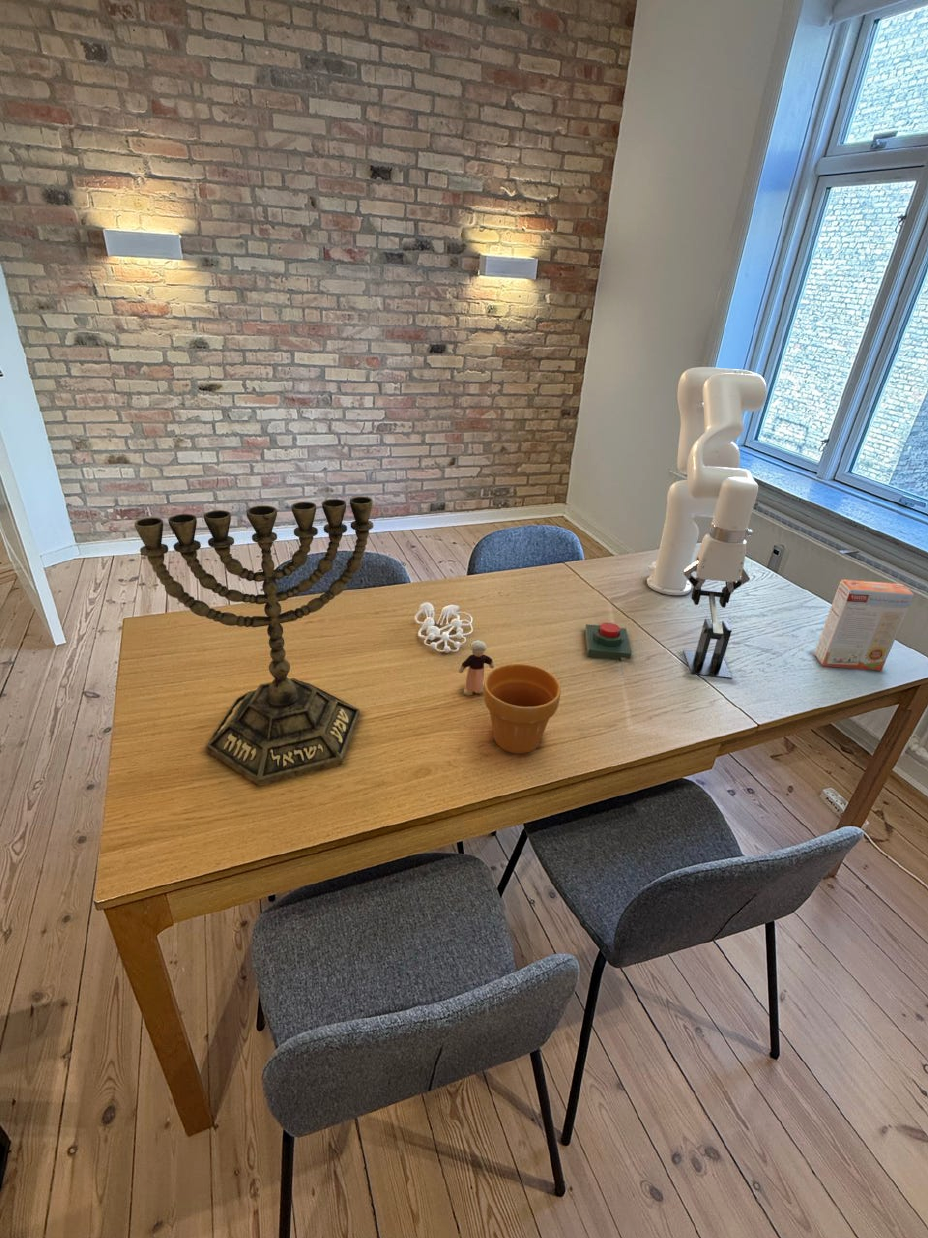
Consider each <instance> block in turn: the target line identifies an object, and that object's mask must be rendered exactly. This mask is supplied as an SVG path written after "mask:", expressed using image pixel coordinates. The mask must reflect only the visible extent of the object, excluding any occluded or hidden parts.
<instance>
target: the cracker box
mask: <svg viewBox="0 0 928 1238" xmlns="http://www.w3.org/2000/svg"><path fill="white" fill-rule="evenodd" d="M914 597H915V593H914V592H913V591H911V590H910V589H909V588H908V587H906V586H905V585H904V584H903V583H894V582H881V581H869V580H868V581H867V580H855V579H840V581H839V584H838V587H837V590H836V593H835V594H834V597H833V601H832V603H831V606H830V608H829V611H828V615H827V616H826V619H825V622H824V625H823V628H822V630H821V634H820V637H819V639H818V642H817V644H816V648H815V650H814V653H813V655H814V656H815V657H816V659H817V660H818V662H819V663H820V665H821V666H823V667H829V668H841V669H853V670H864V671H866V670H867V671H876V672H877V671H878V672H882V671H883V668H884V666H885V664H886V661H887V659H888V657H889V655H890V653H891V650H892V649H893V648H892V647H893V646H894V643H895V641H896V639H897V637H898V634H899V631H900V629H901V627H902V625H903V622H904V620H905V618H906V615H907V613H908V610H909V608H910V606H911V604H912V602H913V599H914Z"/></svg>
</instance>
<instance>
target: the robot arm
mask: <svg viewBox="0 0 928 1238" xmlns="http://www.w3.org/2000/svg"><path fill="white" fill-rule="evenodd" d="M767 395H768V388H767V382H766V381H765V378H764V377H763V376H762V375H760V374H758V373H755V372H753V371H750V370H748V369H737V368H723V367H711V366H710V367H709V366H698V367H691V368H688V369H686V370H685V371H684V372H683V373H682V374H681V375H680V378H679V380H678V385H677V398H676V399H677V405H678V410H679V417H680V430H679V438H678V448H677V455H676V456H677V459H676V467H677V470H678V472H679V473H681V474H682V475H683V474H684V475H686V476H687V477H686V479H681V480H678V481H675V482H673V483H672V484H671V485H670V486H669V489H668V490H667V497H666V512H665V513H666V514H665V520H664V526H663V529H662V536H661V541H660V545H659V549H658V553H657V558H656V560H654V561H652V562H651V563H650V564H649V565H648V566H647V569H648V570H650V571H651V575H650V574H649V576H648V577H647V579H646V584H647V586H648V587H649V588H650V589H651V590H653V591H655V592H657V593H659V594H663V595H668V596H684V595H688V594H689V593H690V592H691V590H692V592H691V596H690V597H691V600H692V601H693V604H694V606H698V605H700V604H699V603H700V600H701V593H702V590H703V589H702V586H703V584H704V583H705V582H706V581H717V582H725V584H724V585H725V586H723V587H722V589H721V592H724V596H723V598H722V597H719V600H718V603H719V605H720V606H721V608H726V606H727V604H729V601H730V598H731V595H732V593H734V592H735V590H737V589H738V588H740V587H741V586H742V585H744V584H746V583H749V581H750V580H751V578H750V576H749V575H748V573H747V572H746V570H745V569H744V565H745V560H746V554H747V553H746V552H747V540H746V539H747V537H752V536H753V533H754V531H753V529H749V524H750V520H751V517H752V514H753V510H754V507H755V504H756V500H757V496H758V491H759V485H758V483H757V482H756V481H755V478H754V476H753V474H752V472H751V471H750V470H749V469H746V468H745V469H744V468H740V465H741V464H740V462H741V452H740V448H739V446H738V444H736V443H735V442H734V441H736V440H738V439H739V438H740V437H741V436H742V435H743V433H744V420H743V419H744V418H743V412H748V413H749V412H750V413H752V412H753V413H755V412H758V411H760V410H761V409H762V407H763V406H764V405H765V402H766V400H767ZM697 517H699V518H700V517H702V518H712V521H711V524H710V525H711V526H710V529H709V533H706V534H705V535H704V536H703V538H702V540H701V542H700V545H699V547H698V550H697V553H696V555H695V552H696V548H697V543H698V539H699V534H700V532H699V531H700V530H699V527H698V525H697V523H696V522H695V519H694V518H697ZM694 555H695V558H694ZM693 560H694V562H693ZM694 572H695V573H696V574H695V575H696V577H695V576H694V575H693V573H694ZM692 586H693V588H692Z"/></svg>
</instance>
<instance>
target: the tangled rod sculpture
mask: <svg viewBox="0 0 928 1238" xmlns="http://www.w3.org/2000/svg"><path fill="white" fill-rule="evenodd" d="M459 610H460V606H459V605H457V604H449V605H447V606H444V607H443V608H442V609H441V612H440V615H439V617H438V619H437V621H436V622H435V615H436V612H435V607H434V606H433V604H432V603H430V602H427V601H426V602H423V603H421V604H420V605H419V608H418V611H417V612H416V613H415V614H414V622H415V624H417V625H418V626H421V627H420V629H418V632H417V636H418V638H420V639H422V640H423V645H425V646H426V647H429V648H430V649H431V650H436V651H437V652H439V653H445V654H449V653H451V652H453V653H455V652H458V651H459V650H460V648H461V646H462V645H464V644H465V643H466V642H467V637H465V636H469V635H471V634H472V633H473V632H474V628H473V625H472V624H473V620H474V619H473V616H472V615H471V614H470V613H468V612H467V611H466V612H465V611H459ZM461 614H462V615H466V616H468V618H469V619H470V621H469V620H468V619H461V616H460V615H461ZM420 615H421V617H423V618H425V619H424V621H419V620H418V617H419V616H420ZM453 616H454V617H456V618H453ZM441 618H442V619H441ZM452 618H453V619H452ZM450 619H452V620H451V621H450V622H449V620H450ZM444 620H445V621H446V623H445V625H444V626H443V623H444ZM463 622H466V623H463ZM436 625H437V626H436ZM438 625H439V626H440V628H439V627H438ZM468 626H469V627H470V631H469V632H467V633H464V629H463V628H462V627H468ZM448 628H449V629H448ZM446 629H448V630H446ZM443 630H445V631H443ZM452 630H453V631H455V632H456V633H455V634H450V633H451V632H452ZM441 631H443V632H442V633H441ZM422 632H425V633H426V635H423V634H422ZM451 638H453V639H454V638H456V639H457V640H461V639H463V641H461V642H460V641H454V640H453V639H451ZM437 639H439V640H438V641H436V642H435V641H434V640H437ZM428 640H429V641H432V642H430V644H428V643H427V641H428ZM448 642H449V643H451V644H453V648H455V649H451V647H450V645H448ZM441 643H444V646H443V648H442V649H439V648H438V645H439V644H441Z"/></svg>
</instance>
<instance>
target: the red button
mask: <svg viewBox="0 0 928 1238" xmlns="http://www.w3.org/2000/svg"><path fill="white" fill-rule="evenodd" d="M600 625H601V626H600V631H599V633H600V634H601V635H602V636H605V637H609V638H615V637H618V635H619V630H620V628H621V627H620V626H619V625H618V624H616V623H614V622H602V623H601V624H600Z"/></svg>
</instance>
